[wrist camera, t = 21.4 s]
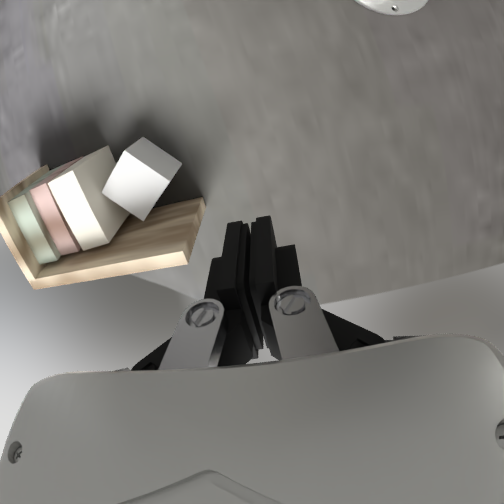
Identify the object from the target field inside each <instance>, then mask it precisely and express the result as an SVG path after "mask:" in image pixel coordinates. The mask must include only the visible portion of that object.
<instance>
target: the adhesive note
mask: <svg viewBox="0 0 504 504" xmlns="http://www.w3.org/2000/svg"><path fill="white" fill-rule="evenodd" d="M181 165H182V163H181V162H179V161H178V160H176V159H175V158H174V157H172V156H171V155H169V154H168V153H166V152H165V151H163V150H162V149H160V148H159V147H158V146H156V145H155V144H153V143H152V142H150V141H149V140H147V139H146V138H144V137H142V138H140V139H139V140H138V141H136V142H135V143H134V144H132V145H131V146H130V147H128V148H127V149H126V150H124V152H123V154H122V155H121V157H120V159H119V161H118V162H117V164H116V166H115V168H114V170H113V171H112V173H111V175H110V177H109V179H108V181H107V183H106V185H105V187H104V188H103V190H102V192H101V193H102V194H104V195H105V196H107V197H108V198H109V199H111V200H112V201H114V202H115V203H117V204H118V205H120V206H121V207H123V208H124V209H126V210H127V211H129V212H130V213H132V214H133V215H135V216H136V217H138V218H139V219H141V220H142V221H144V220H145V218H146V217H147V215H148V214H149V212H150V211H151V209H152V207H153V206H154V204H155V203H156V202H157V200H158V199H159V197H160V196H161V194H162V193H163V191H164V190H165V188H166V187H167V185H168V184H169V183H170V181H171V180H172V178H173V177H174V175H175V174H176V172H177V171H178V169H179V168H180V167H181Z"/></svg>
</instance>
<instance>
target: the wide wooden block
mask: <svg viewBox="0 0 504 504" xmlns="http://www.w3.org/2000/svg"><path fill="white" fill-rule="evenodd" d="M82 158H83V156H82V157H80V158H78V159H75V160H73V161H70V162H68V163H66V164H63V165H61V166H59V167H57V168H54V169H52V170H49V168H48V165H45V166H43V167H41V168H39V169H38V170H36V171H35V172H33V173H32V174H30V175H29V176H28V177H26V178H25V179H23V180H22V181H21V182H19V183H18V184H16V185H15V186H14V187H12V188H11V189H10V190H8V191H7V192H6V193H4V194H3V195H2V196H1V197H0V232H1V234H2V236H3V238H4V240H5V242H6V244H7V245H8V247H9V249H10V251H11V253H12V254H13V256H14V258H15V260H16V261H17V263H18V265H19V266H20V268H21V270H22V271H23V273H24V275H25V276H26V278H27V280H28V281H29V283H30V284H31V286H32V287H33V289H34V290H35V289H41V288H47V287H53V286H59V285H65V284H72V283H77V282H83V281H90V280H96V279H101V278H107V277H114V276H119V275H125V274H132V273H138V272H144V271H150V270H156V269H162V268H167V267H173V266H179V265H185V264H188V262H189V259H190V256H191V252H192V249H193V246H194V243H195V240H196V236H197V233H198V230H199V227H200V224H201V221H202V218H203V215H204V212H205V209H206V206H205V203H204V200H203V197H200V198H196V199H191V200H187V201H182V202H178V203H174V204H169V205H165V206H161V207H157V208H153V209H151V211H150V212H149V214H148V215H147V217H146V218H145V220H144V221H142V220H141V219H139V218H138V217H136V216H135V215H133V214H129V215H128V217H127V218H126V219H125V221H124V222H123V224H122V225H121V226H120V228H119V229H118V231H117V232H116V234H115V235H114V236H113V238H112V239H111V241H110V242H109V243H107V244H104V245H101V246H97V247H94V248H91V249H87V250H84V251H83V249H82V248H81V246H80V244H79V243H78V241H77V239H76V237H75V235H74V234H73V232H72V230H71V228H70V226H69V225H68V223H67V221H66V219H65V217H64V215H63V213H62V211H61V209H60V207H59V206H58V204H57V202H56V200H55V198H54V196H53V194H52V191H51V189H50V187H49V185H48V182H50V181H51V180H52V179H54V178H55V177H56V176H58V175H59V174H60V173H62V172H63V171H65V170H66V169H67V168H69V167H70V166H72V165H73V164H74V163H76V162H77V161H79V160H80V159H82Z"/></svg>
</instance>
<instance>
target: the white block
mask: <svg viewBox="0 0 504 504" xmlns="http://www.w3.org/2000/svg"><path fill="white" fill-rule="evenodd" d="M115 166H116V162H115V160H114V158H113V155H112V153H111V150H110V148H109V146H106V147H104V148H101V149H99V150H97V151H95V152H93V153H91V154H89V155H87V156H85V157H83V158H82V159H80V160H79V161H77V162H76V163H74V164H73V165H72V166H70V167H69V168H67V169H66V170H65V171H63V172H62V173H60V174H59V175H58V176H56V177H55V178H54V179H52V180H51V181H50V182H48V185H49V187H50V189H51V191H52V194H53V196H54V198H55V200H56V202H57V204H58V206H59V207H60V209H61V211H62V213H63V215H64V217H65V219H66V221H67V223H68V225H69V226H70V228H71V230H72V232H73V234H74V235H75V237H76V239H77V241H78V243H79V244H80V246H81V248H82V249H83V251H84V250H87V249H91V248H94V247H97V246H101V245H104V244H107V243H109V242H110V241H111V239H112V238H113V236H114V235H115V234H116V232H117V231H118V229H119V228H120V226H121V225H122V224H123V222H124V221H125V219H126V218H127V217H128V215H129V214H130V212H129V211H127V210H126V209H124V208H123V207H121V206H120V205H118V204H117V203H115V202H114V201H112V200H111V199H109V198H108V197H107V196H105V195H104V194H102V193H101V192H102V190H103V188H104V187H105V185H106V183H107V181H108V179H109V177H110V175H111V173H112V171H113V170H114V168H115Z"/></svg>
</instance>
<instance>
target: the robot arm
mask: <svg viewBox="0 0 504 504" xmlns="http://www.w3.org/2000/svg"><path fill="white" fill-rule="evenodd" d="M355 1H356V2H357V3H359V4H361V5H362V6H364V7H366V8H368V9H370V10H373V11H375V12H378V13H382V14H386V15H405V14H409V13H412V12H415V11H417V10H419V9H420V8H422V7H423V6H424V5H425V4H426V2H427V1H428V0H355ZM392 8H393V9H394V11H393V10H392ZM263 336H264V339H265V343H266V346H267V348H269V349H270V352H271V355H272V356H273V357H275V358H276V359H278V360H279V361H271V362H262V363H254V364H246V363H247V362H248V361H250V360H251V359H256V358H258V349H263ZM0 504H504V355H503V354H502V353H501V352H500V351H499V350H498V349H497V348H496V347H495V346H494V345H493V344H492V343H490V342H489V341H487V340H484V339H482V338H479V337H475V336H470V335H462V334H433V335H423V336H398V337H393V340H384V339H383V338H382V337H380V336H379V335H377V334H375V333H373V332H371V331H368V330H366V329H364V328H362V327H360V326H358V325H355V324H353V323H351V322H349V321H347V320H345V319H342V318H340V317H338V316H336V315H334V314H332V313H330V312H327V311H325V310H323V309H321V307H320V305H319V303H318V300H317V298H316V296H315V294H314V293H313V292H312V291H311V290H310V289H308V288H306V287H302V284H301V278H300V272H299V266H298V260H297V254H296V249H295V244H294V245H288V246H282V247H277V245H276V240H275V235H274V230H273V226H272V221H271V217H270V216H264V217H259V218H256V222H252V223H251V233H250V229H249V226H248V223H246V224H243V222H242V221H237V222H231V223H228V224H227V229H226V235H225V240H224V246H223V252H222V257H217V258H213V259H212V261H211V266H210V271H209V276H208V281H207V286H206V291H205V296H204V299H201V300H199V301H196V302H194V303H192V304H191V305H189V306H188V307H187V308H186V309H185V310H184V312H183V313H182V316H181V318H180V320H179V322H178V324H177V327H176V329H175V331H174V334H173V336H172V337H171V338H170V339H169V340H167V341H166V342H165V343H163V344H162V345H161V346H159V347H158V348H157V349H156V350H154V351H153V352H151V353H150V354H149V355H148V356H146V357H145V358H144V359H142V360H141V361H140V362H138V363H137V364H136V365H135V366H134V367H133V368H132V370H129V368H125V369H120V370H115V371H77V372H66V373H61V374H57V375H53V376H50V377H47V378H45V379H42V380H40V381H39V382H37V383H36V384H34V385H33V386H32V387H31V388H30V390H29V391H28V393H27V395H26V396H25V398H24V400H23V402H22V404H21V406H20V408H19V410H18V413H17V414H16V417H15V419H14V422H13V424H12V427H11V430H10V432H9V435H8V438H7V441H6V444H5V447H4V450H3V454H2V457H1V460H0Z"/></svg>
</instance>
